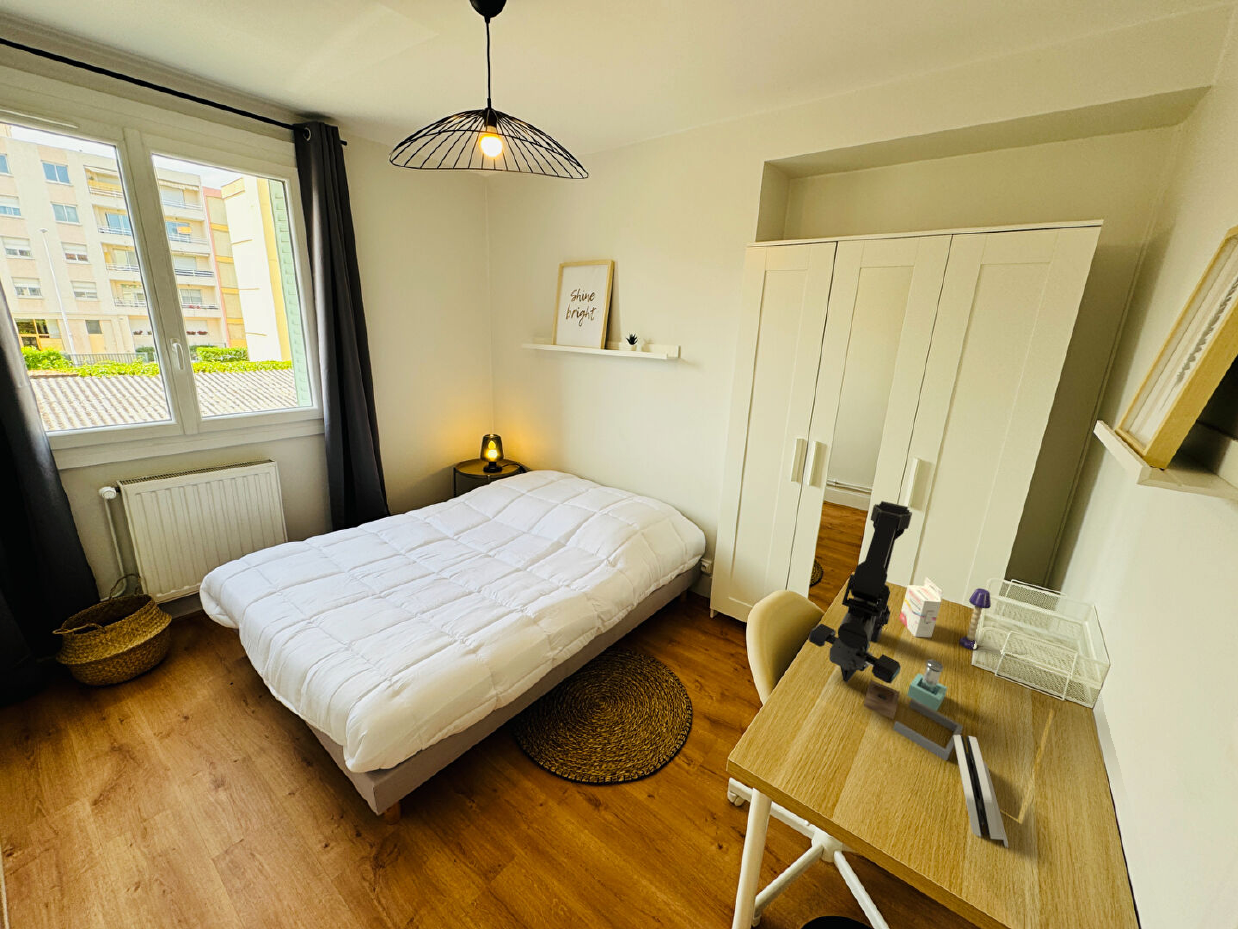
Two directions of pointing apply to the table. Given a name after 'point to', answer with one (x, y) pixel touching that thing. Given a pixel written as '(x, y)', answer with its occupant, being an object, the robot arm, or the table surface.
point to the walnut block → (881, 699)
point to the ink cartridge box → (921, 608)
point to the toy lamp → (976, 615)
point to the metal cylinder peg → (931, 675)
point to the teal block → (926, 693)
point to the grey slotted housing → (987, 805)
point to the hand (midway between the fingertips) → (845, 681)
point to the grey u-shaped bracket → (924, 741)
